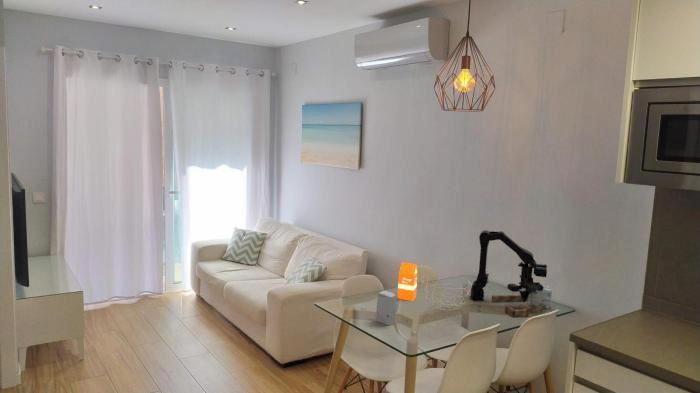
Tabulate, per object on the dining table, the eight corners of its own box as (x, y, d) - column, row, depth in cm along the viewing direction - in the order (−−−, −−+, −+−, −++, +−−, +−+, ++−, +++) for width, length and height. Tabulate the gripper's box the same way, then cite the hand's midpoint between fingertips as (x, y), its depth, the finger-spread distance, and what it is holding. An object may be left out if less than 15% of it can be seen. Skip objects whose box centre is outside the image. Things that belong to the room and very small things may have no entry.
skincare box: (375, 321, 250) (376, 292, 248) (382, 317, 254) (384, 289, 252) (389, 326, 245) (390, 296, 242) (396, 322, 249) (397, 293, 247)
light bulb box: (546, 304, 285) (548, 286, 283) (550, 308, 278) (552, 290, 276) (527, 303, 285) (529, 284, 284) (530, 307, 279) (532, 288, 277)
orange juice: (412, 301, 280) (414, 266, 277) (397, 298, 284) (399, 263, 280) (416, 296, 288) (418, 262, 284) (401, 294, 291) (403, 260, 288)
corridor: (511, 317, 263) (512, 309, 262) (491, 301, 285) (492, 294, 285) (551, 316, 267) (552, 308, 267) (528, 300, 290) (529, 293, 289)
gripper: (518, 279, 267) (515, 308, 270) (550, 278, 271) (547, 306, 273) (508, 273, 278) (505, 300, 280) (538, 272, 282) (536, 299, 284)
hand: (524, 302), depth 279 cm, fingers closed, pressing on light bulb box
